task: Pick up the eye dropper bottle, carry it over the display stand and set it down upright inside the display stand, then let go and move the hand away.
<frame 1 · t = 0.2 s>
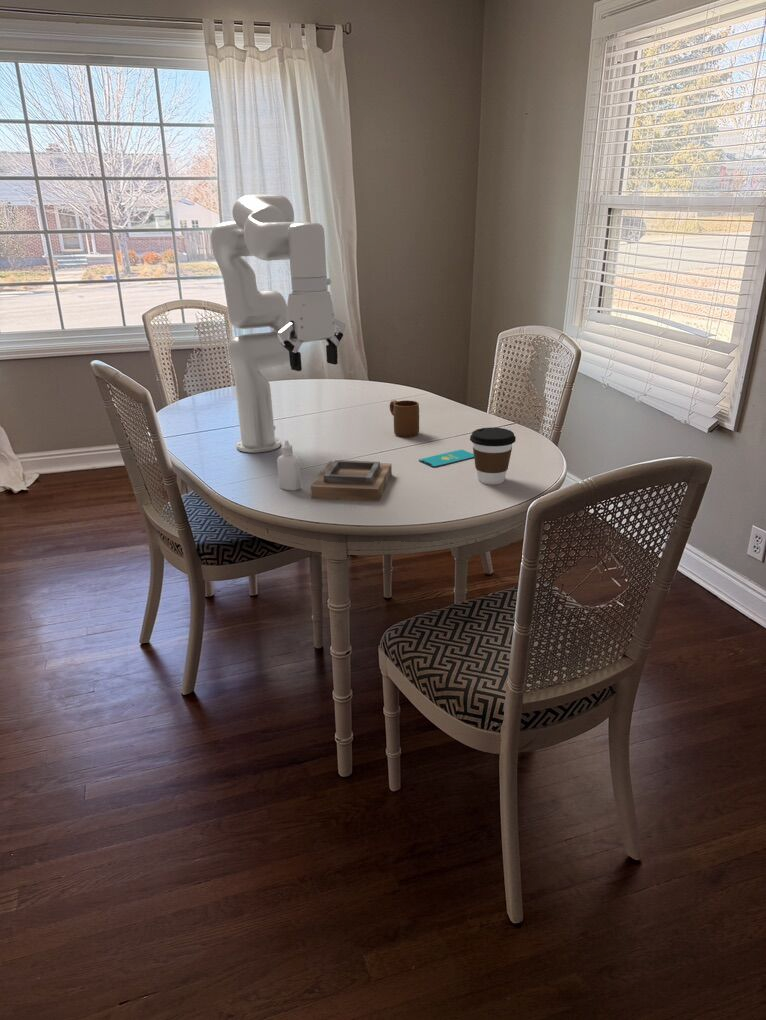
hand: (314, 366, 156), 30 cm above the table, tool pointing down, fingers open, 9 cm apart
mug: (402, 433, 213), on the table
coffee cup: (491, 480, 174), on the table
smartphone: (448, 460, 189), on the table
eye dropper bottle: (290, 488, 172), on the table
display stand: (353, 486, 172), on the table
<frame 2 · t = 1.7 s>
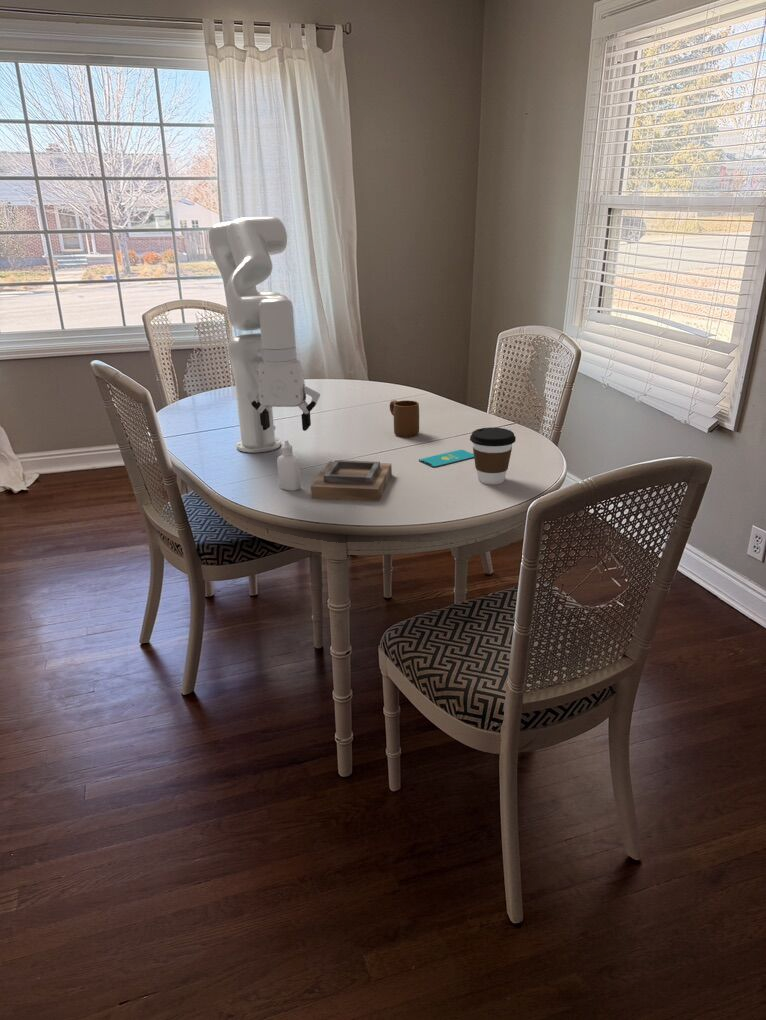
hand: (286, 429, 166), 15 cm above the table, tool pointing down, fingers open, 9 cm apart
nothing on the table moved.
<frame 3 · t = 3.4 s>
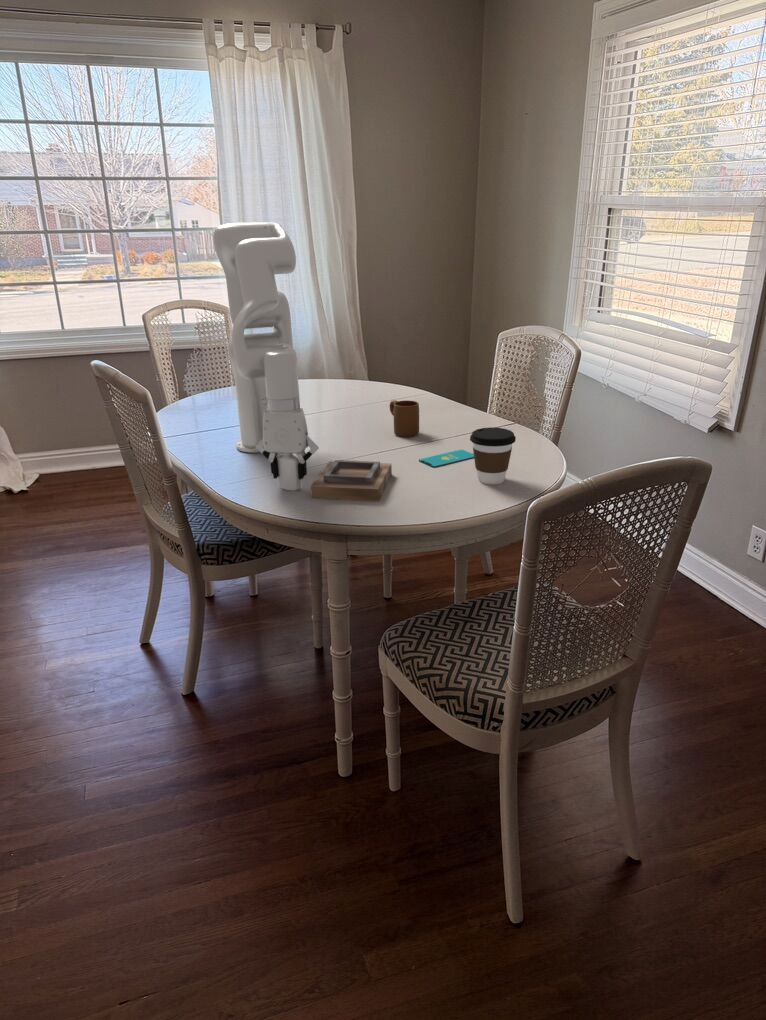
hand: (289, 476, 171), 3 cm above the table, tool pointing down, fingers closed on eye dropper bottle, 5 cm apart
eye dropper bottle: (290, 488, 172), on the table, touching gripper
everything else where it was.
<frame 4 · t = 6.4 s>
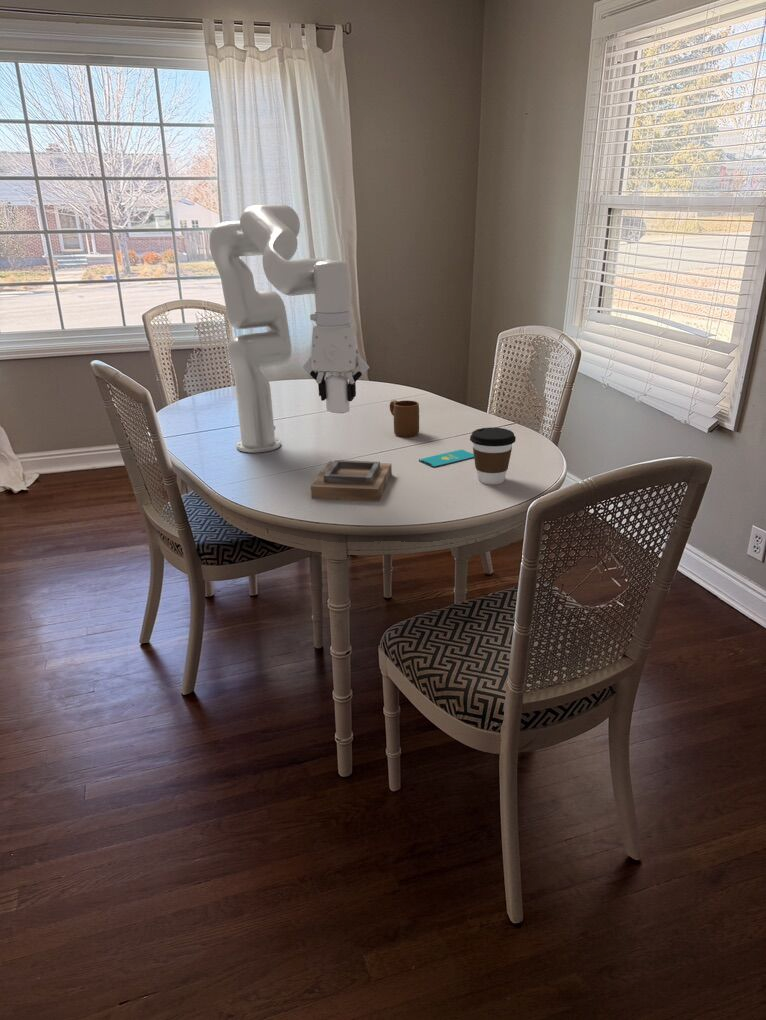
hand: (337, 398, 163), 22 cm above the table, tool pointing down, fingers closed on eye dropper bottle, 5 cm apart
eye dropper bottle: (338, 412, 165), point 19 cm above the table, touching gripper
everything else where it was.
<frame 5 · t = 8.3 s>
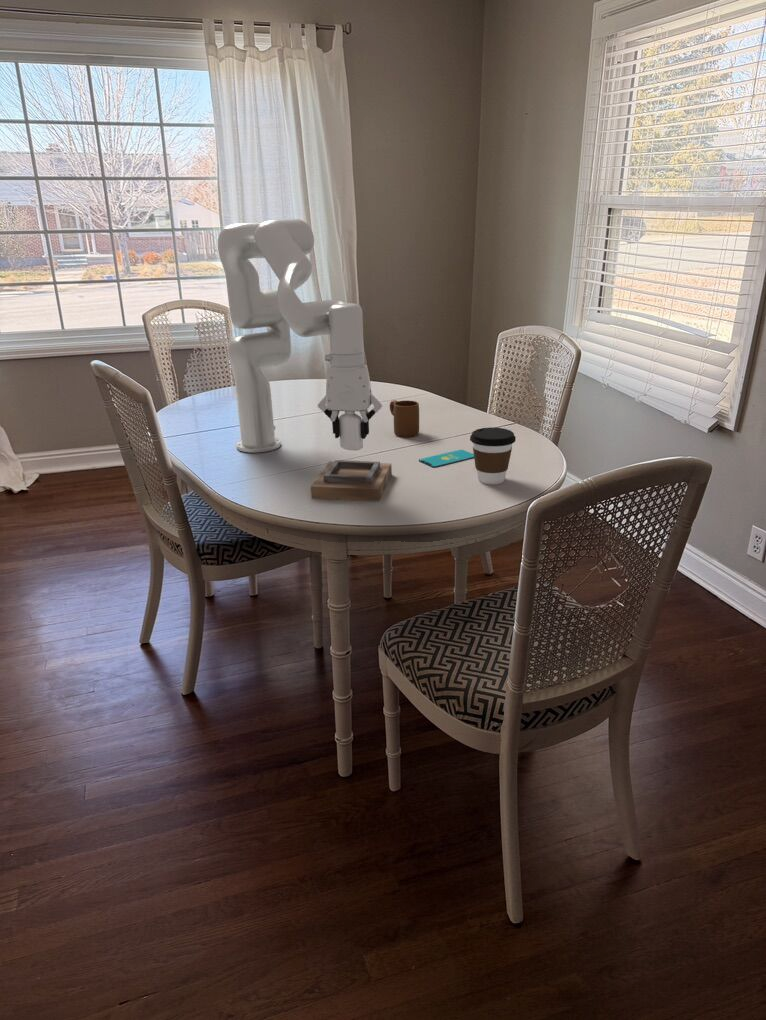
hand: (351, 436, 167), 13 cm above the table, tool pointing down, fingers closed on eye dropper bottle, 5 cm apart
eye dropper bottle: (351, 448, 168), point 10 cm above the table, touching gripper
everything else where it was.
when the fingers open (7 cm above the table, at t = 9.8 s): eye dropper bottle drops 1 cm, resting on display stand.
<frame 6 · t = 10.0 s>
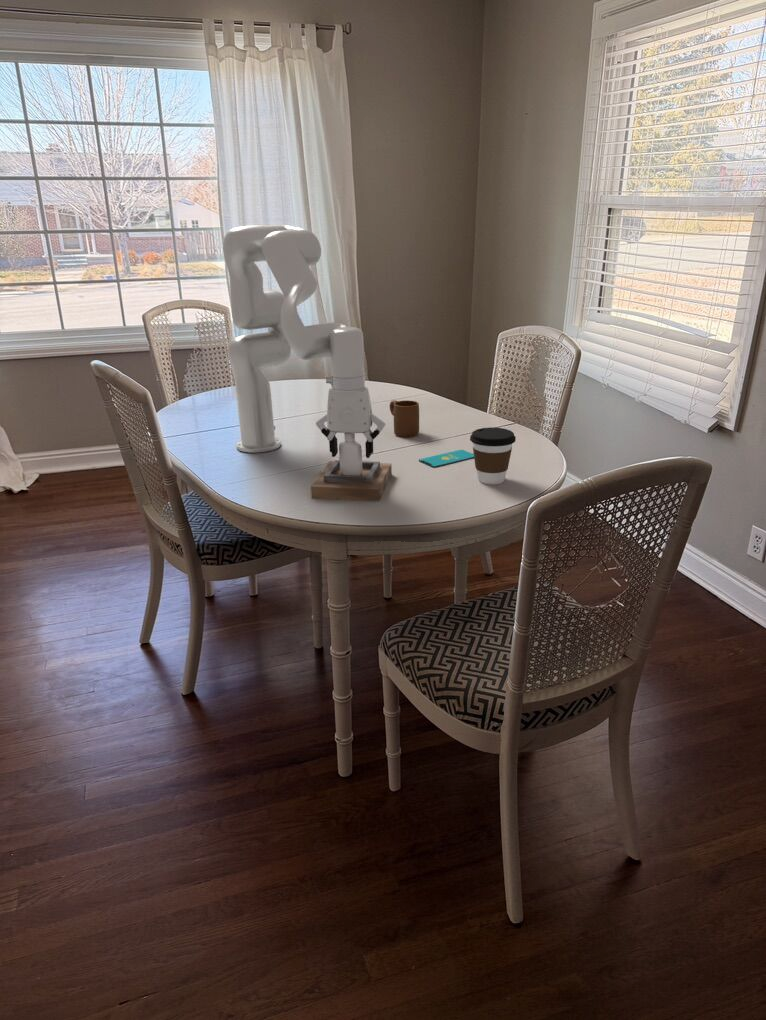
hand: (351, 455, 169), 8 cm above the table, tool pointing down, fingers open, 7 cm apart
eye dropper bottle: (351, 475, 171), point 3 cm above the table, touching display stand
everything else where it was.
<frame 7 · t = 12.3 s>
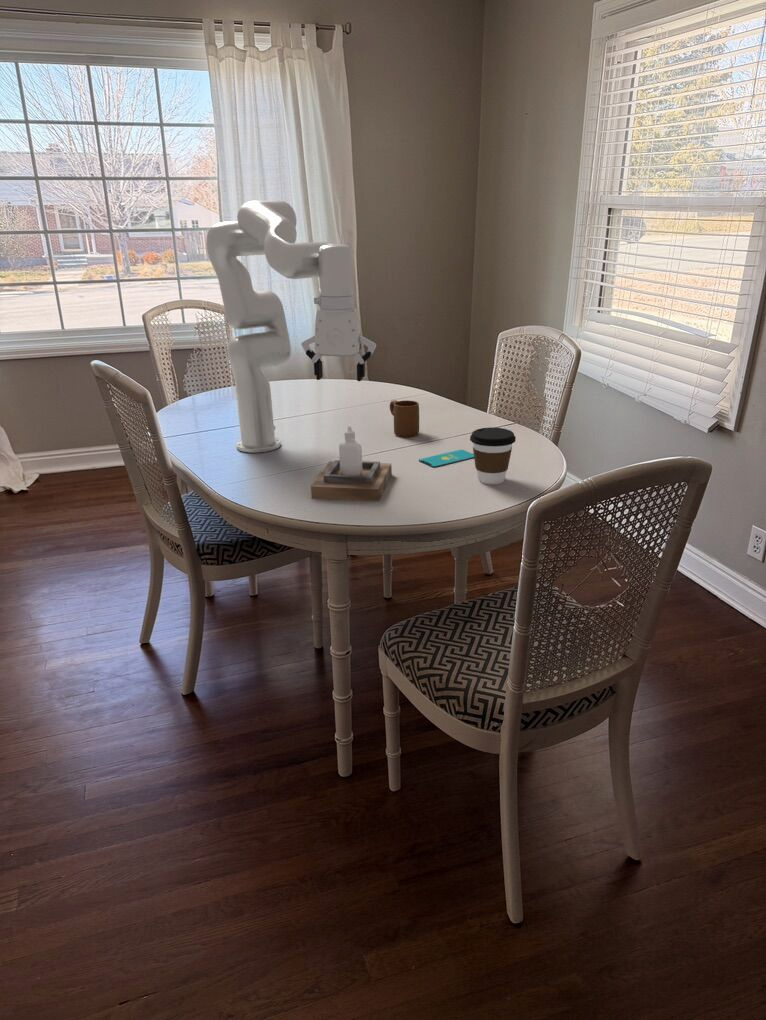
hand: (339, 379, 164), 26 cm above the table, tool pointing down, fingers open, 9 cm apart
nothing on the table moved.
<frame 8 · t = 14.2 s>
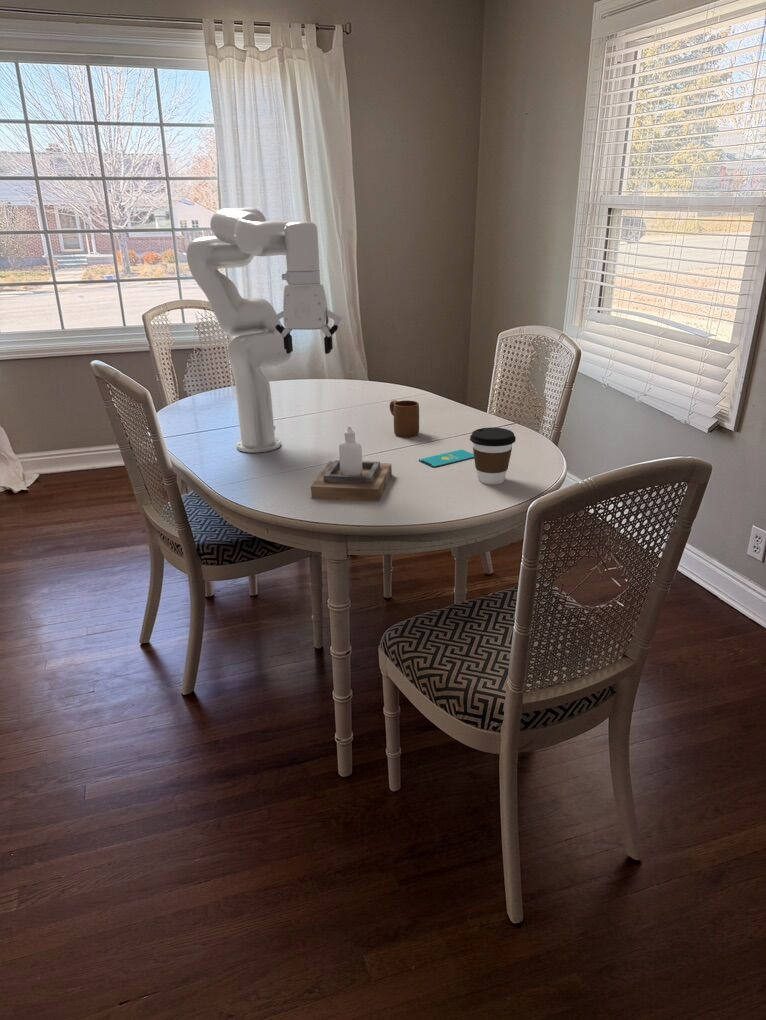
hand: (308, 352, 171), 30 cm above the table, tool pointing down, fingers open, 9 cm apart
nothing on the table moved.
at the end: eye dropper bottle 0.3 cm off-centre on the display stand, point 2.8 cm above the display stand's base; eye dropper bottle tilted 0°; the gripper is holding nothing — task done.
